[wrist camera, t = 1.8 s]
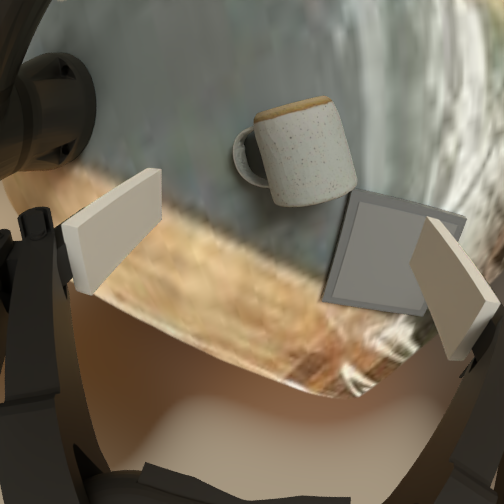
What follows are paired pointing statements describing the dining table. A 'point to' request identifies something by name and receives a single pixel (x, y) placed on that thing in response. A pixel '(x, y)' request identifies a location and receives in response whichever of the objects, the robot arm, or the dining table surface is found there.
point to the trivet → (381, 253)
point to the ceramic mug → (300, 153)
